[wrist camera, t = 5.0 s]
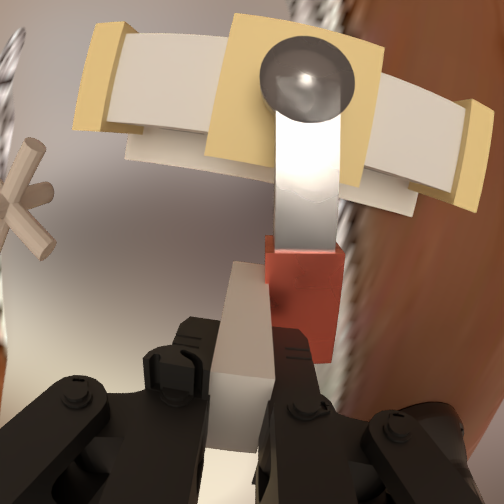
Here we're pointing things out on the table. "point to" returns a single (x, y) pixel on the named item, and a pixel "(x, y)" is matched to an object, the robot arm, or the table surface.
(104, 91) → the valve base
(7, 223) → the pipe connector
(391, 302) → the table surface
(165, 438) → the robot arm
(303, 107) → the valve lever
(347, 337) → the table surface
